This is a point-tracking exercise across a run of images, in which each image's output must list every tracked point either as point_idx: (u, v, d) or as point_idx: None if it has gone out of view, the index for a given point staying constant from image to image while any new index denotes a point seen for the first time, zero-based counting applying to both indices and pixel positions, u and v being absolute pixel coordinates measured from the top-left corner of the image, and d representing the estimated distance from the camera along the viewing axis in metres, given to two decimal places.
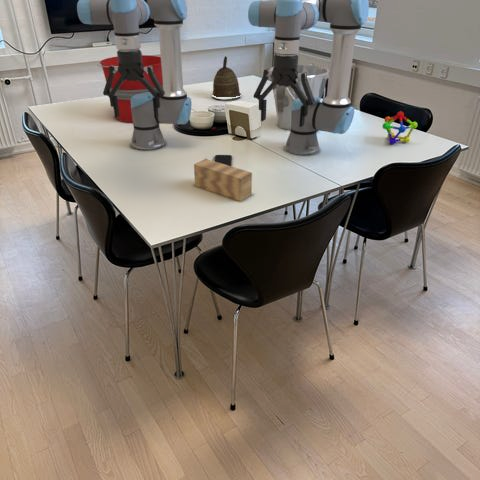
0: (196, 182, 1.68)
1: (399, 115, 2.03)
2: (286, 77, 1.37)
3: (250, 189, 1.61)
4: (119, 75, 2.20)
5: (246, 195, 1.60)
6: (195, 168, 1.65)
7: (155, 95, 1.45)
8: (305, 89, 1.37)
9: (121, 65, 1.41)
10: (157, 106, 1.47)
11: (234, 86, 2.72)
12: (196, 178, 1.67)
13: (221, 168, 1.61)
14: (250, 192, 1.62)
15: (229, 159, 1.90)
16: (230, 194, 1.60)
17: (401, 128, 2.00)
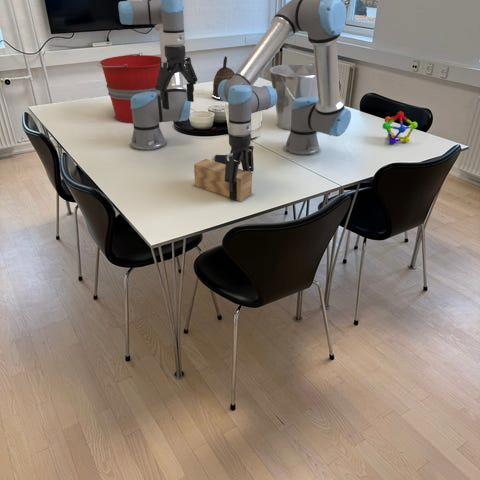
0: (196, 182, 1.68)
1: (399, 115, 2.03)
2: (246, 151, 1.53)
3: (250, 189, 1.61)
4: (119, 75, 2.20)
5: (246, 195, 1.60)
6: (195, 168, 1.65)
7: (193, 81, 1.70)
8: (252, 159, 1.59)
9: (172, 60, 1.59)
10: (192, 90, 1.73)
11: None
12: (196, 178, 1.67)
13: (221, 168, 1.61)
14: (250, 192, 1.62)
15: None
16: None
17: (401, 128, 2.00)
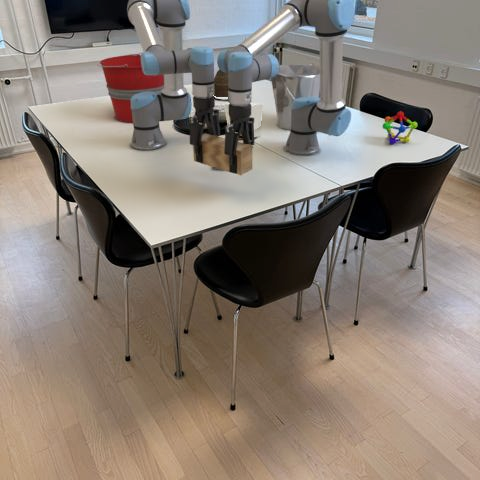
0: (195, 157, 1.63)
1: (399, 115, 2.03)
2: (246, 122, 1.48)
3: (251, 163, 1.56)
4: (119, 75, 2.20)
5: (247, 169, 1.55)
6: None
7: None
8: (252, 131, 1.53)
9: (201, 111, 1.52)
10: None
11: None
12: None
13: (221, 142, 1.55)
14: (251, 166, 1.56)
15: None
16: None
17: (401, 128, 2.00)
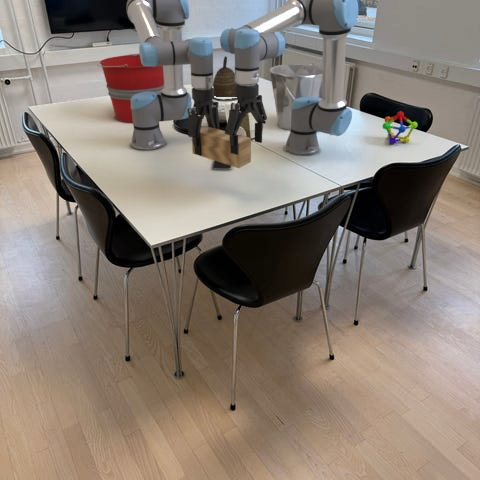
0: None
1: (399, 115, 2.03)
2: (253, 103, 1.43)
3: (249, 156, 1.54)
4: (119, 75, 2.20)
5: (245, 162, 1.53)
6: None
7: (215, 128, 1.61)
8: (262, 108, 1.49)
9: (200, 103, 1.51)
10: None
11: (234, 86, 2.72)
12: None
13: (220, 134, 1.54)
14: (249, 159, 1.55)
15: None
16: (228, 161, 1.53)
17: (401, 128, 2.00)
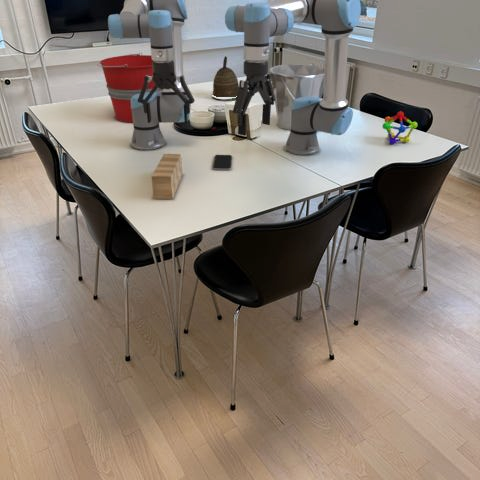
0: None
1: (399, 115, 2.03)
2: (262, 82, 1.37)
3: (170, 193, 1.58)
4: (119, 75, 2.20)
5: (163, 196, 1.59)
6: None
7: (186, 102, 1.58)
8: (271, 88, 1.43)
9: (155, 75, 1.54)
10: (187, 112, 1.60)
11: (234, 86, 2.72)
12: None
13: (165, 164, 1.64)
14: (170, 196, 1.59)
15: (229, 159, 1.90)
16: None
17: (401, 128, 2.00)
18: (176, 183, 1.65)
